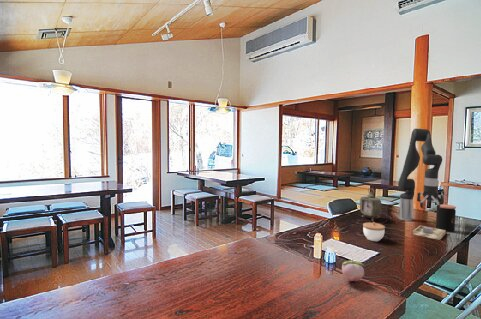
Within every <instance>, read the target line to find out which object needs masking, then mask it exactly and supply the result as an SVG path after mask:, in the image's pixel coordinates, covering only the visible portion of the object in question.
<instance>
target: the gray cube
mask: <svg viewBox="0 0 481 319" xmlns="http://www.w3.org/2000/svg"><path fill="white" fill-rule="evenodd" d="M433 228H434V227H430V226H426V227H424V228H423V233H427V234H432V235H433Z"/></svg>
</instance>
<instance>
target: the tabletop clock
mask: <svg viewBox="0 0 481 319" xmlns="http://www.w3.org/2000/svg"><path fill="white" fill-rule="evenodd" d="M369 190H372V191H373V192H372V191H369ZM367 192H368V194H367V196H361V197H360V200H359V212H360V213H361V214H362V215H361V217H362V218H364V217H365V216H366V217H367V216H368V217H370V218H371V221H372V222H375V221H374V217H375V216H376V217H377V216H380V215H381V214H382V200H381V199H380V198H378V197H375V190H374V189H373V188H368V189H367Z"/></svg>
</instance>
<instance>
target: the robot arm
mask: <svg viewBox="0 0 481 319" xmlns="http://www.w3.org/2000/svg"><path fill="white" fill-rule="evenodd" d="M410 134H411V135H410V141H409V145H408V150H407V153H406V156H405V159H404V164H403V168H402V171H401V174H400V177H399V179H398V181H397V187H398V189H399V190H401V191H405V192H403V193H400V195H399V207H398V213H397V214H398V215H397V219H398V220H402V221H406V222H407V221H408V222H410V221H413V210H414V197H415V190H416V183H415V182H416V181H415V179H413V178H409V176H410V175H411V174H412V173H413V172H414V171H415V170H416V169H417V168H418V166H419V163H420V160H421V156H420V153H419V151H418V149H417V147H416V146H417V145H416V143H417V142H423V143H422V144H421V148H420V149H421V153H422V155H423V156H422V163H423V164H424V165H425V166H433V167H432V168H427V169H425V171H424V180H423V192H420V191H419V192H418V193H417V196H416V197H417V198H416V201H417V202H418V203H419V208H421V209H424V202H425V200H426V201H432V202H433V201H434V203H435V204H436V212H437V211H438V210H440V205H442V204H444V203H445V202H444V200H445V199H444V198H445V197H444V194H439V192H438V191H439V170H440V168H441V165H442V163H443V157H442V155H440V154H437V153H436V150H435V148H434V145H433V141H432V135H431V131H430V130H429V129H426V128H413V130H412V131H411V133H410ZM422 196H423V198H422V199H421V197H422ZM438 198H439V199H440V200H439V199H438Z"/></svg>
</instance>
